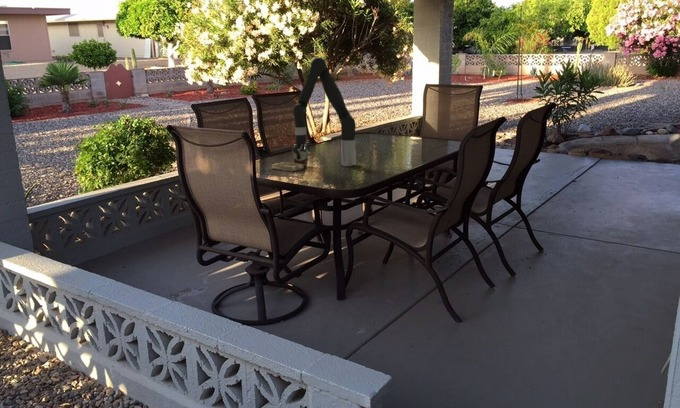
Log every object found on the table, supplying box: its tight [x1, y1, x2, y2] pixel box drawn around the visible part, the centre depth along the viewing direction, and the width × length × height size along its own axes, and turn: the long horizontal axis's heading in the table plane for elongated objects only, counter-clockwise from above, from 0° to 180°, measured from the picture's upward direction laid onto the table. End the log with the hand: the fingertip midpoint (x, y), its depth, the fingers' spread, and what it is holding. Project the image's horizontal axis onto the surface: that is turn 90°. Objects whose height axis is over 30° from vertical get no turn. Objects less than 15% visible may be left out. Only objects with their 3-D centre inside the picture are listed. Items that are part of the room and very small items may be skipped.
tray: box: [271, 161, 305, 172], centre depth 388 cm, size 12×18×3 cm, turn 51°
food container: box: [291, 148, 309, 165], centre depth 397 cm, size 12×6×10 cm, turn 59°
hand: (302, 158), depth 397 cm, fingers closed on food container, 6 cm apart
